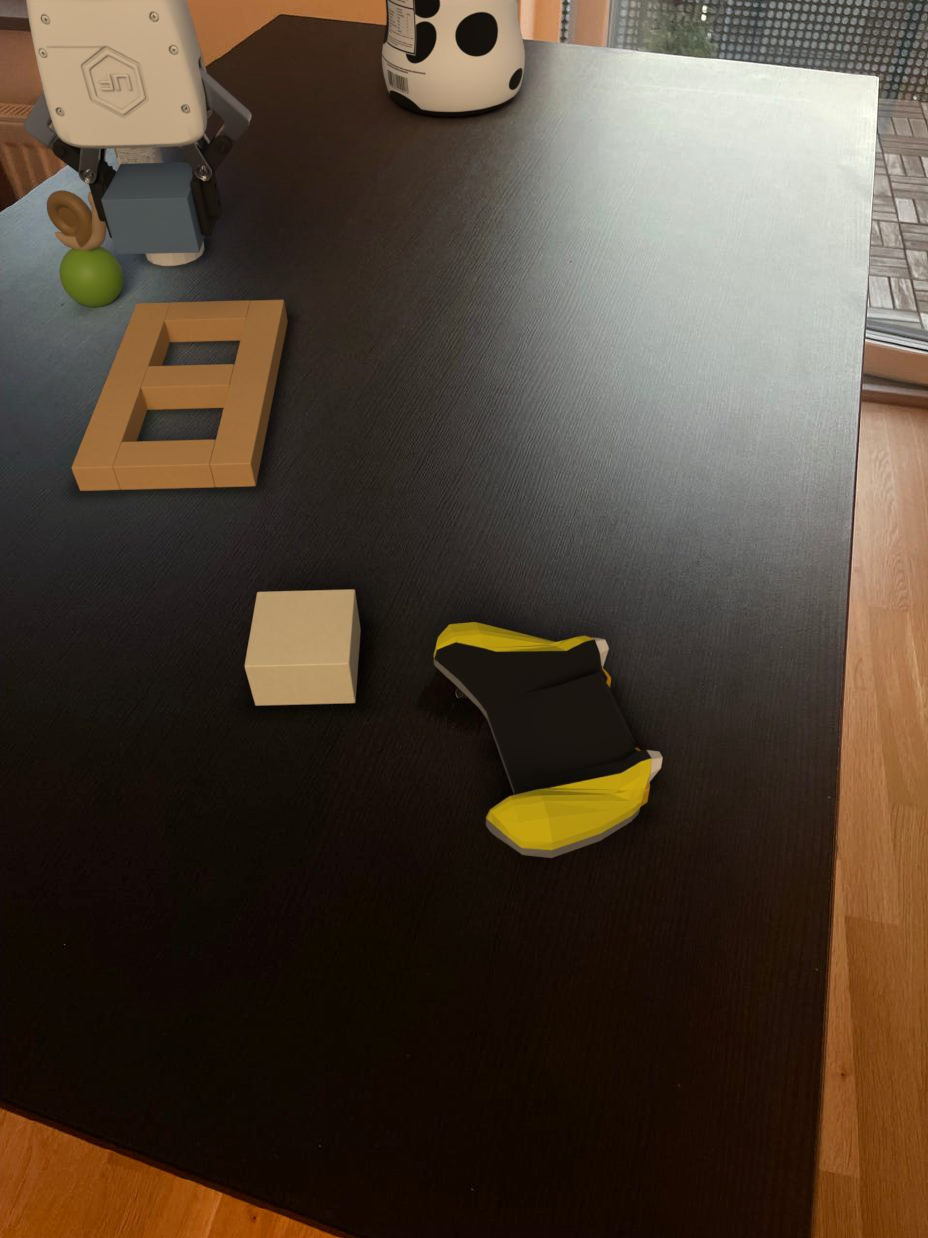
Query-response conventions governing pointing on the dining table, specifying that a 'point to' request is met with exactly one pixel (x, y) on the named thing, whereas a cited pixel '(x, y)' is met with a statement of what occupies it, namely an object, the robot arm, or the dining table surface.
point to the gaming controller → (550, 736)
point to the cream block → (304, 647)
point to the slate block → (152, 209)
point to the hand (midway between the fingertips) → (164, 226)
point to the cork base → (185, 398)
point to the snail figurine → (84, 251)
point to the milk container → (452, 55)
